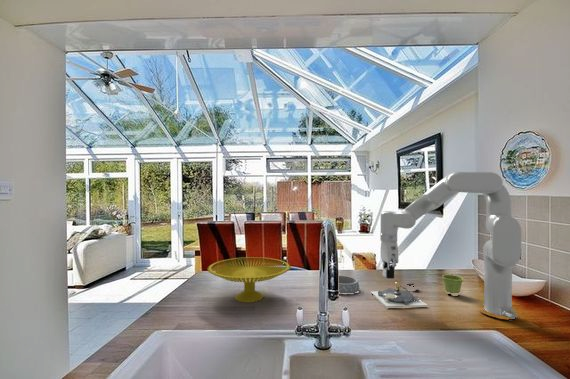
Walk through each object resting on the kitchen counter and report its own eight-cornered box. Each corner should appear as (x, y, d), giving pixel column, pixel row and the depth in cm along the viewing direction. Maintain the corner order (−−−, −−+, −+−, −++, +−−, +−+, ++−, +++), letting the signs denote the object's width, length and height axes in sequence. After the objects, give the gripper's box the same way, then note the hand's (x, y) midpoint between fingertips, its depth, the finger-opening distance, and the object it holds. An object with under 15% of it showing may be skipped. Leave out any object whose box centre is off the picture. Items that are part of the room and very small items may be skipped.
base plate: (427, 307, 134) (427, 305, 134) (386, 308, 132) (386, 306, 132) (407, 293, 153) (407, 290, 153) (370, 293, 151) (370, 291, 151)
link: (394, 278, 140) (394, 269, 140) (385, 278, 139) (386, 269, 139) (390, 276, 144) (390, 267, 144) (382, 275, 143) (382, 267, 143)
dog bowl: (340, 282, 171) (340, 272, 171) (366, 290, 157) (366, 280, 157) (318, 288, 161) (318, 278, 161) (344, 298, 147) (344, 286, 147)
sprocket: (416, 293, 148) (416, 282, 148) (419, 306, 132) (419, 293, 132) (378, 289, 154) (378, 278, 154) (377, 300, 138) (377, 288, 138)
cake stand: (234, 322, 118) (234, 284, 118) (192, 294, 149) (193, 264, 149) (308, 299, 144) (308, 267, 144) (260, 279, 175) (260, 253, 175)
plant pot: (457, 291, 155) (458, 275, 155) (467, 298, 146) (467, 280, 146) (438, 291, 156) (438, 274, 156) (446, 297, 147) (446, 279, 147)
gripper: (405, 240, 133) (404, 282, 133) (388, 235, 150) (388, 271, 150) (388, 240, 133) (388, 282, 133) (374, 235, 149) (373, 271, 150)
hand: (388, 276), depth 142 cm, fingers closed on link, 4 cm apart
